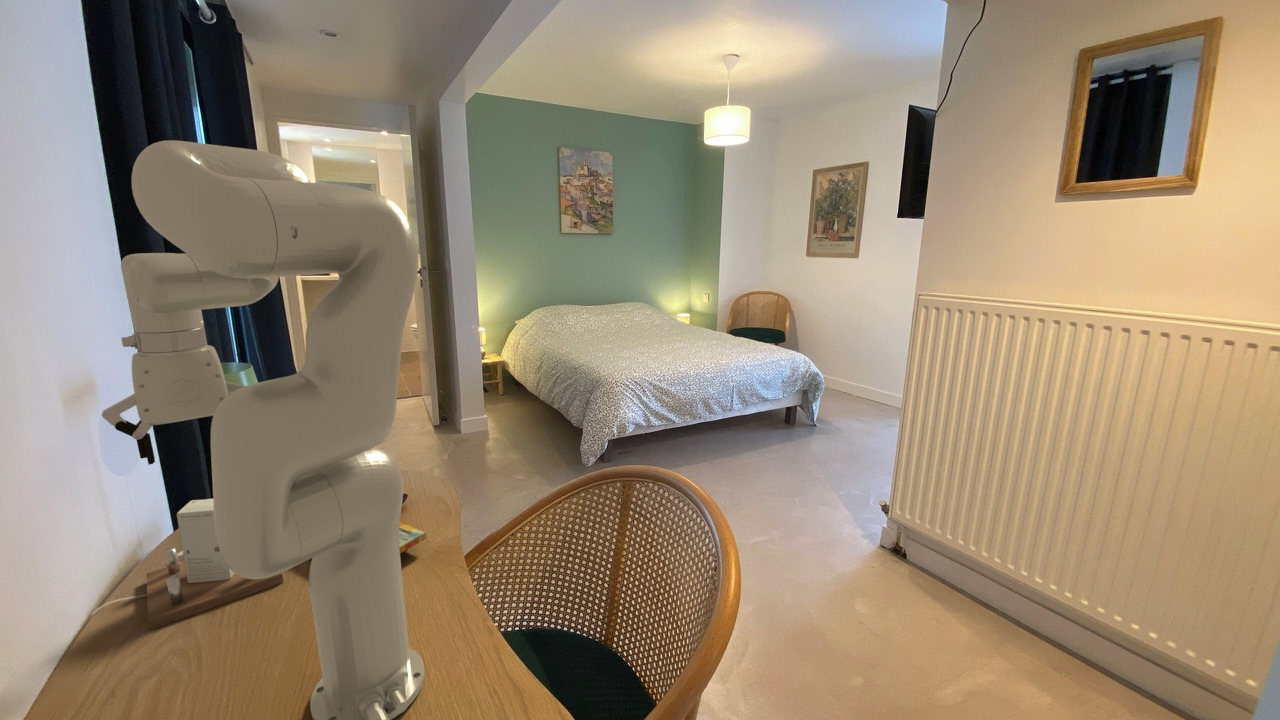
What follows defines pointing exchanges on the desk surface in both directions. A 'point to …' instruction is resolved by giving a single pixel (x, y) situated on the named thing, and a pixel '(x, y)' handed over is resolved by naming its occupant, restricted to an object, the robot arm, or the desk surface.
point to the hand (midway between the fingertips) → (194, 452)
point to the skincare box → (201, 543)
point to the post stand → (193, 591)
